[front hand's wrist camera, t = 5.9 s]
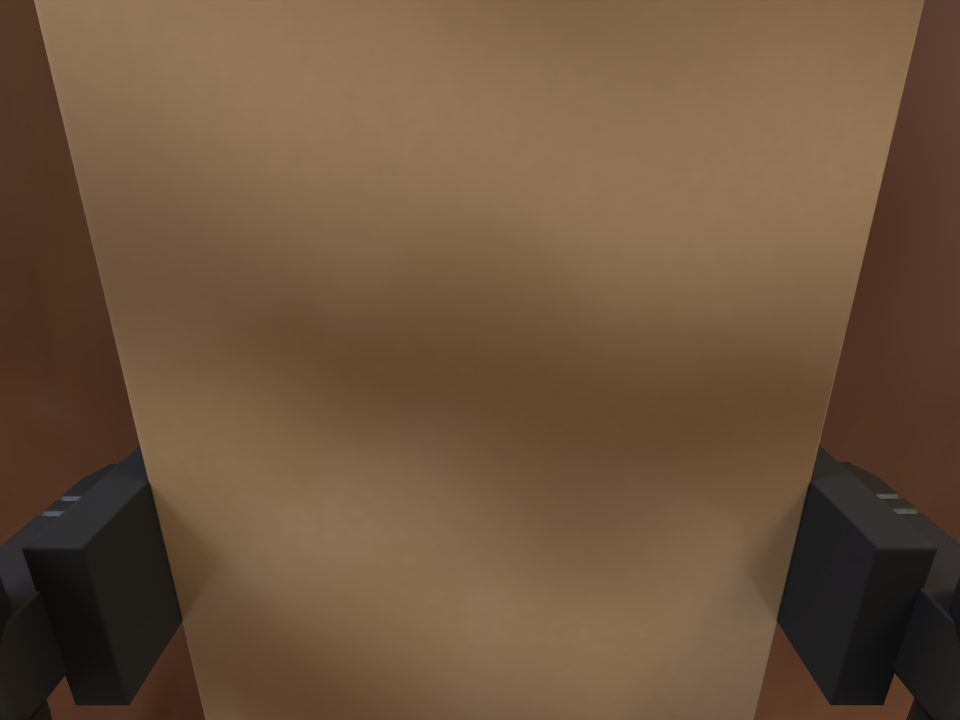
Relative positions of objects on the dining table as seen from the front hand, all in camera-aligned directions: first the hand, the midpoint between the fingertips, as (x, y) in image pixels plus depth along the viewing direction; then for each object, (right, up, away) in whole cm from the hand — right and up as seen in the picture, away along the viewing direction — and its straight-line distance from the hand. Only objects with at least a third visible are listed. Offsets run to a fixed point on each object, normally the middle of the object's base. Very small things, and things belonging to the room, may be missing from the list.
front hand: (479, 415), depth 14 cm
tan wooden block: (0, +5, +3) cm, 5 cm away
